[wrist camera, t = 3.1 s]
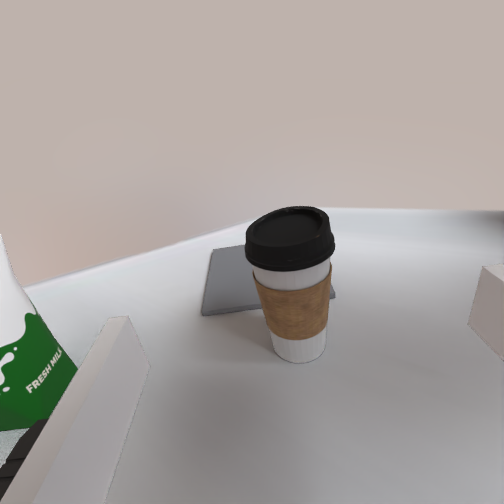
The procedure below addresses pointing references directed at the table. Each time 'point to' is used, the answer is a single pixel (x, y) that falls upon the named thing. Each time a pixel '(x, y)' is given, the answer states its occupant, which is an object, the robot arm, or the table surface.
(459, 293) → the table surface
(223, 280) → the mat
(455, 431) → the table surface
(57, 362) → the milk carton
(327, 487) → the table surface
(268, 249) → the coffee cup
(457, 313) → the table surface
